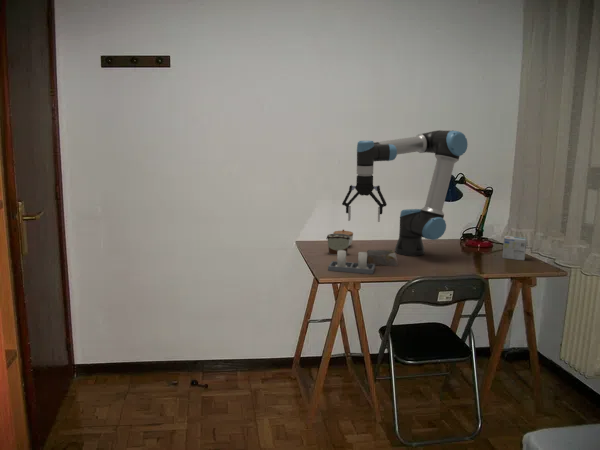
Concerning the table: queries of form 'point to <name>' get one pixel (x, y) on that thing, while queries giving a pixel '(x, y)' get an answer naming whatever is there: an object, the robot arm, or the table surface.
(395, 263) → the geological specimen
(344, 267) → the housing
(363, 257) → the white pillar candle
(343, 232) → the lidded jar
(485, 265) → the table surface
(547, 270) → the table surface
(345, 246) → the food container
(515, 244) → the light bulb box
